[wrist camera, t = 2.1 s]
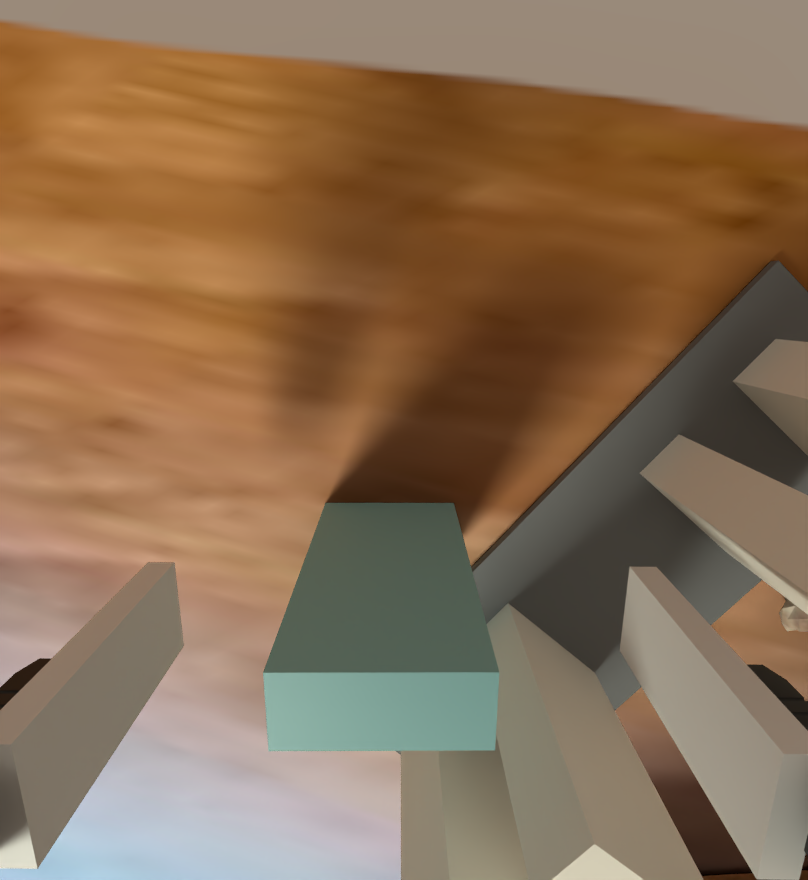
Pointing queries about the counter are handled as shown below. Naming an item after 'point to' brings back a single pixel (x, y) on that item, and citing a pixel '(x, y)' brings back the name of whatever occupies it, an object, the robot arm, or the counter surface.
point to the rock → (793, 617)
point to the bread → (747, 876)
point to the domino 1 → (458, 817)
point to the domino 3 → (739, 512)
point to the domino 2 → (575, 768)
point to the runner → (649, 494)
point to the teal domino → (383, 638)
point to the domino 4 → (781, 387)
